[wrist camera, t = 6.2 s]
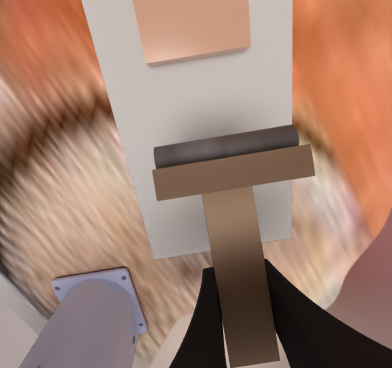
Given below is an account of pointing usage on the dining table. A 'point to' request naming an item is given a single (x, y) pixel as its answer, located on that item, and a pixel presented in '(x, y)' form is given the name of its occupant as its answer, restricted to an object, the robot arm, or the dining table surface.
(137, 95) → the mat
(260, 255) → the pusher
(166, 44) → the tile
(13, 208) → the dining table surface
